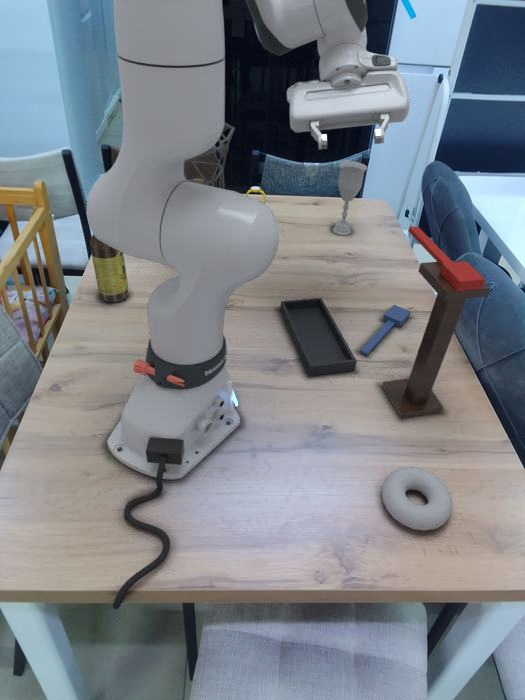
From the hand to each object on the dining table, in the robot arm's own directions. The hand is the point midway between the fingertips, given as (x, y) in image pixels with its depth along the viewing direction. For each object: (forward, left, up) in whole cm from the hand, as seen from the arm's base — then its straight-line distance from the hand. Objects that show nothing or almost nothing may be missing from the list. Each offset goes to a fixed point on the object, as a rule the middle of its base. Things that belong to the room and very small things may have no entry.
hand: (351, 144), depth 85 cm
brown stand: (-15, -23, -36) cm, 46 cm away
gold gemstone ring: (+41, +37, -37) cm, 66 cm away
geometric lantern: (+7, +36, -37) cm, 52 cm away
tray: (-8, -1, -36) cm, 37 cm away
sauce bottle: (-16, +43, -37) cm, 58 cm away
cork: (+26, +47, -37) cm, 65 cm away
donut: (-37, -28, -37) cm, 59 cm away
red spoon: (-12, -20, -10) cm, 26 cm away
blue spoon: (+2, -13, -36) cm, 39 cm away
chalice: (+41, +10, -37) cm, 56 cm away
